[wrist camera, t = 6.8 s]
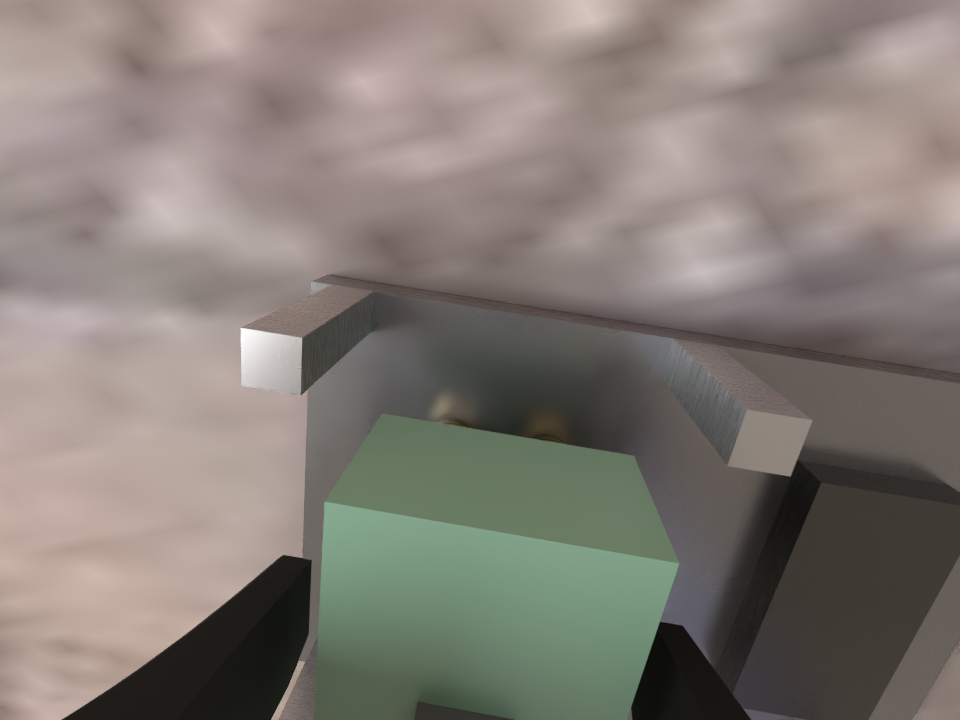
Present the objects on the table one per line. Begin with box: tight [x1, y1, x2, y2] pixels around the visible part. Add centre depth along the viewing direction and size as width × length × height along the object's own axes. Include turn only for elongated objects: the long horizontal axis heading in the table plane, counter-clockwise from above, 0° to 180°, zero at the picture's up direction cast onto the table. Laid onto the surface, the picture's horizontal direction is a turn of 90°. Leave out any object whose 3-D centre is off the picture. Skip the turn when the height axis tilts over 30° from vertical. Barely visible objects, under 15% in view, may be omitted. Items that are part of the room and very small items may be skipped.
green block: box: [314, 413, 679, 720], centre depth 9 cm, size 5×8×3 cm, turn 172°
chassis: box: [241, 275, 960, 720], centre depth 12 cm, size 18×12×5 cm, turn 82°
